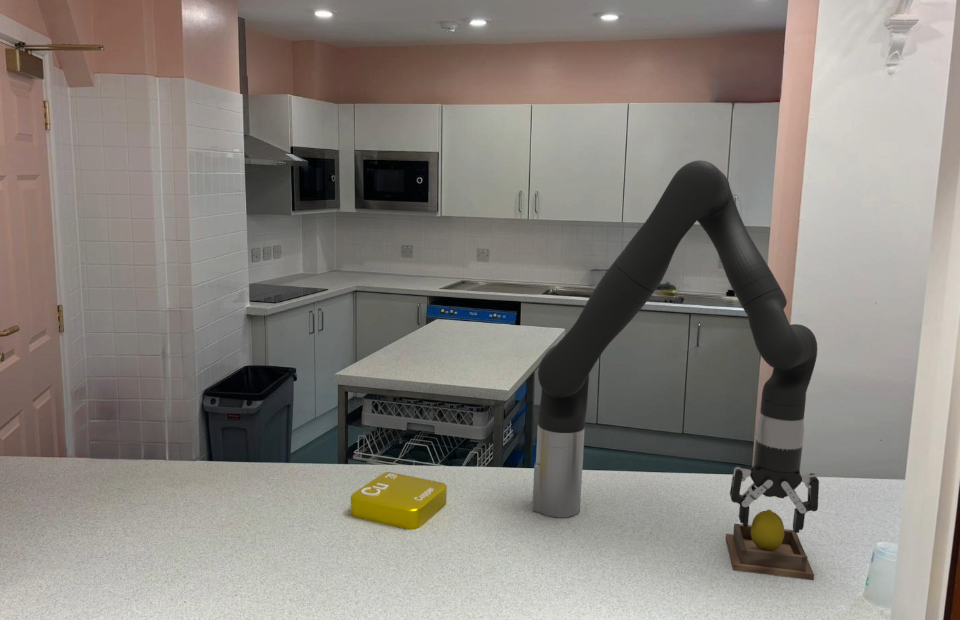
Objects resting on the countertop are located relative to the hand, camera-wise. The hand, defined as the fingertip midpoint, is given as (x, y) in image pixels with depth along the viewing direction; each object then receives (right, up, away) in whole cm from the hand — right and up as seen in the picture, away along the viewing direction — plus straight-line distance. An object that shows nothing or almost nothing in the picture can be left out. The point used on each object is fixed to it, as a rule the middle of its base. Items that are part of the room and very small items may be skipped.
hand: (770, 527), depth 136 cm
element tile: (-67, -2, +17) cm, 69 cm away
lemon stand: (0, -6, +1) cm, 6 cm away
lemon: (-1, -5, +1) cm, 5 cm away
